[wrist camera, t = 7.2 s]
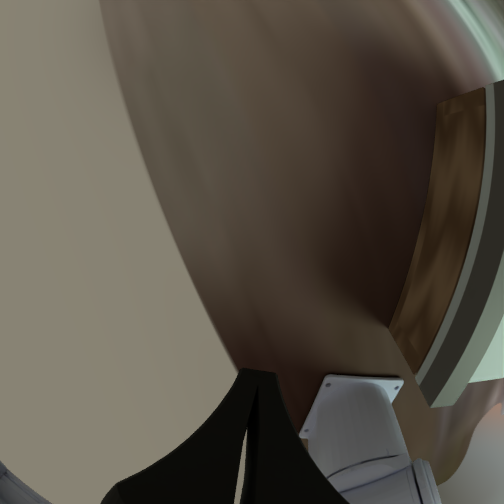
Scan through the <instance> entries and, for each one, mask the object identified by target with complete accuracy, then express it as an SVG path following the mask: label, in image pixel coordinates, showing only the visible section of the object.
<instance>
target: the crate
mask: <svg viewBox="0 0 504 504" xmlns="http://www.w3.org/2000/svg"><path fill="white" fill-rule="evenodd" d="M486 122H487V114H486V89H485V88H484V87H482V88H479V89H476V90H474V91H471V92H468V93H465V94H462V95H460V96H457V97H454V98H451V99H449V100H446V101H444V102H441V103H438V104H437V114H436V130H435V142H434V151H433V160H432V167H431V174H430V181H429V187H428V193H427V198H426V203H425V208H424V213H423V218H422V222H421V227H420V231H419V235H418V239H417V243H416V247H415V250H414V254H413V257H412V261H411V264H410V268H409V271H408V274H407V277H406V281H405V284H404V287H403V290H402V293H401V296H400V298H399V301H398V304H397V307H396V310H395V312H394V315H393V317H392V320H391V323H390V325H389V328H388V329H389V331H390V333H391V335H392V336H393V338H394V340H395V341H396V343H397V345H398V347H399V349H400V350H401V352H402V354H403V356H404V357H405V359H406V361H407V363H408V365H409V367H410V369H411V370H412V372H413V374H414V375H417V374H418V372H419V370H420V368H421V366H422V364H423V363H424V361H425V359H426V357H427V355H428V353H429V351H430V349H431V347H432V345H433V343H434V341H435V339H436V336H437V334H438V332H439V330H440V328H441V325H442V323H443V321H444V318H445V316H446V314H447V311H448V309H449V306H450V304H451V301H452V298H453V296H454V293H455V290H456V287H457V285H458V282H459V279H460V276H461V273H462V270H463V266H464V263H465V260H466V256H467V253H468V249H469V245H470V242H471V238H472V233H473V229H474V225H475V220H476V215H477V210H478V205H479V199H480V193H481V187H482V179H483V171H484V161H485V149H486Z"/></svg>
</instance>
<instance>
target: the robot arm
mask: <svg viewBox="0 0 504 504" xmlns="http://www.w3.org/2000/svg"><path fill="white" fill-rule="evenodd" d="M327 383H330V384H327ZM403 383H404V381H403V379H402V378H382V377H360V376H345V375H333V374H330V375H327V376H325V378H324V380H323V382H322V385H321V387H320V389H319V392H318V394H317V396H316V399H315V401H314V403H313V405H312V408H311V410H310V412H309V414H308V416H307V418H306V420H305V423H304V425H303V427H302V429H301V431H300V433H299V435H298V433H297V431H296V429H295V427H294V425H293V422H292V420H291V418H290V415H289V413H288V410H287V408H286V405H285V402H284V399H283V396H282V393H281V389H280V385H279V381H278V376H277V374H276V373H272V372H265V371H259V370H253V369H247V368H242V369H240V370H239V373H238V375H237V378H236V380H235V382H234V383H233V386H232V387H231V388H230V390H229V392H228V393H227V395H226V396H225V397H224V399H223V400H222V402H221V403H220V404H219V406H218V407H217V408H216V409H215V411H214V412H213V413H212V414H211V415H210V417H209V418H208V419H207V420H206V421H205V422H204V423H203V424H202V425H201V426H200V427H199V429H197V430H196V431H195V432H194V433H193V434H192V435H191V436H190V437H189V438H188V439H187V440H185V441H184V442H183V443H182V444H181V445H179V446H178V447H177V448H176V449H174V450H173V451H172V452H170V453H169V454H168V455H166V456H165V457H163V458H162V459H160V460H159V461H157V462H155V463H154V464H152V465H151V466H149V467H147V468H146V469H144V470H142V471H140V472H138V473H136V474H134V475H132V476H130V477H128V478H126V479H124V480H122V481H120V482H118V483H116V484H115V485H114V486H113V487H112V488H111V490H110V491H109V492H108V493H107V494H106V496H105V497H104V498H103V500H102V502H101V504H234V499H235V492H236V485H237V478H238V472H239V465H240V459H241V452H242V446H243V440H244V436H245V433H246V430H247V442H246V459H245V474H244V483H243V488H242V494H241V499H240V504H442V503H441V500H440V496H439V493H438V490H437V486H436V483H435V480H434V477H433V474H432V471H431V468H430V465H429V462H428V461H425V460H422V459H420V458H419V459H417V460H415V461H413V463H412V461H411V459H410V457H409V455H408V451H407V448H406V445H405V442H404V439H403V436H402V433H401V430H400V427H399V424H398V421H397V418H396V416H395V413H394V410H393V407H392V405H391V403H392V401H393V400H394V398H395V397H396V395H397V393H398V392H399V390H400V388H401V387H402V385H403ZM396 386H397V387H396ZM300 437H301V438H308V449H309V453H308V451H307V450H306V448H305V446H304V444H303V443H302V441H301V439H300ZM0 504H52V503H50V502H49V501H47V500H46V499H44V498H43V497H41V496H40V495H39V494H38V493H36V492H35V491H34V490H32V489H31V488H30V487H28V486H27V485H26V484H25V483H23V482H22V481H21V480H20V479H18V478H17V477H16V476H15V475H14V474H13V473H11V472H10V471H9V470H8V469H7V468H6V467H5V465H4V464H3V463H2V462H1V461H0Z"/></svg>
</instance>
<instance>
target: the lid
mask: <svg viewBox="0 0 504 504" xmlns="http://www.w3.org/2000/svg"><path fill="white" fill-rule="evenodd" d="M485 88H486V114H487V122H486V149H485V161H484V171H483V179H482V187H481V193H480V199H479V205H478V210H477V215H476V220H475V225H474V229H473V233H472V238H471V242H470V245H469V249H468V253H467V256H466V260H465V263H464V266H463V270H462V273H461V276H460V279H459V282H458V285H457V287H456V290H455V293H454V296H453V298H452V301H451V304H450V306H449V309H448V311H447V314H446V316H445V318H444V321H443V323H442V325H441V328H440V330H439V332H438V334H437V336H436V339H435V341H434V343H433V345H432V347H431V349H430V351H429V353H428V355H427V357H426V359H425V361H424V363H423V364H422V366H421V368H420V370H419V372H418V374H417V375H416V377H415V379H416V381H417V383H418V385H419V387H420V389H421V391H422V393H423V395H424V397H425V399H426V401H427V403H428V405H429V407H430V408H433V407H442V406H450V405H454V403H455V402H456V400H457V399H458V397H459V396H460V395H461V393H462V392H463V390H464V388H465V387H466V385H467V384H468V383H470V382H478V381H485V380H492V379H498V378H504V80H501V81H498V82H495V83H492V84H489V85H486V86H485Z"/></svg>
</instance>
